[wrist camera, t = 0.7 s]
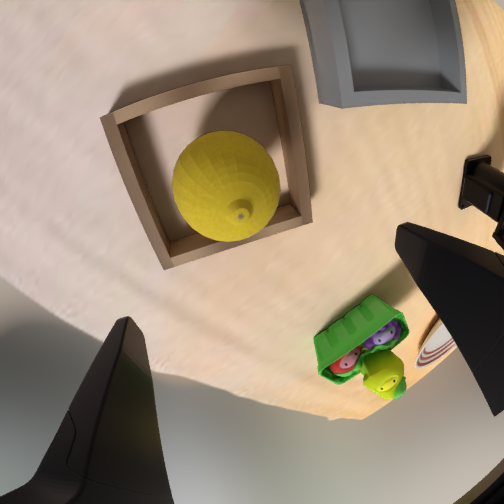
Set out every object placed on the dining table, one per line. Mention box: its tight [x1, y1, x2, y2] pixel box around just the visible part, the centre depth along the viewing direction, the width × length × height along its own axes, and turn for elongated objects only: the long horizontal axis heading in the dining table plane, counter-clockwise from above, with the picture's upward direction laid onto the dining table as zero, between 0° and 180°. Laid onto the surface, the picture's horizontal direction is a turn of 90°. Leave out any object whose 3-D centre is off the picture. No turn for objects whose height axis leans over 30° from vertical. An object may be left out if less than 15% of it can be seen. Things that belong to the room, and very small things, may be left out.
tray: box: [300, 0, 467, 109], centre depth 12 cm, size 14×14×3 cm
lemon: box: [172, 130, 280, 242], centre depth 14 cm, size 6×6×8 cm
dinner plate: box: [415, 318, 456, 368], centre depth 45 cm, size 28×27×3 cm
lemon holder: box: [100, 65, 313, 270], centre depth 17 cm, size 11×11×2 cm
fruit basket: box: [314, 294, 409, 399], centre depth 29 cm, size 11×9×11 cm
